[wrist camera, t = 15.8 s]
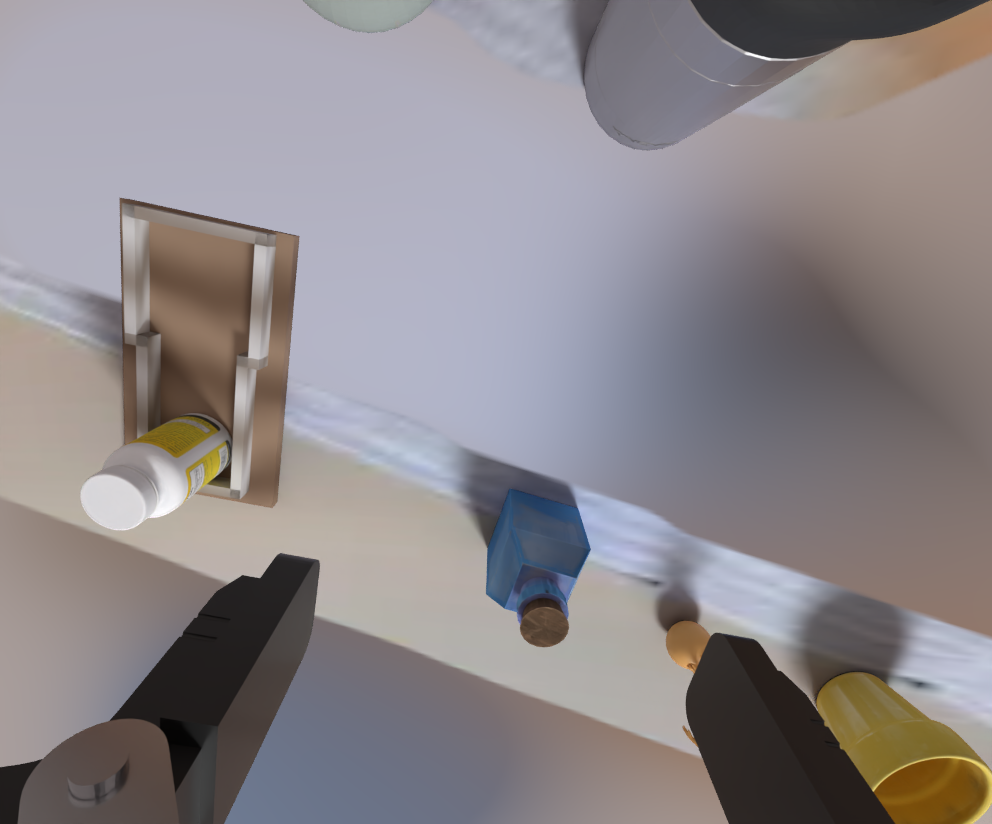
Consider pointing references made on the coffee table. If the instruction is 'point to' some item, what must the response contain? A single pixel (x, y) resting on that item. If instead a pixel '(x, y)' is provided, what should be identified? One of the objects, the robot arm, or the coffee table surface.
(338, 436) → the coffee table surface
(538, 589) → the perfume bottle
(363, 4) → the air freshener
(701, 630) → the figurine
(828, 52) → the robot arm
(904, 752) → the plant pot
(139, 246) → the brown rectangular tray
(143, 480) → the supplement bottle
